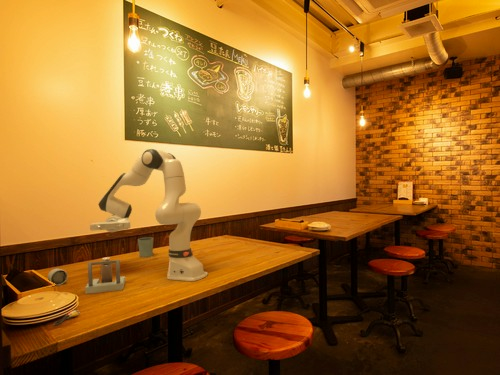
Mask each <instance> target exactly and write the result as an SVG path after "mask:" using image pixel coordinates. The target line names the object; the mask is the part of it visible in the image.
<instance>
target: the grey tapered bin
mask: <svg viewBox="0 0 500 375" xmlns="http://www.w3.org/2000/svg"><path fill="white" fill-rule="evenodd" d="M137 244H138V245H137V247H138V253H139V257H140V258H142V257H146V258H151V257H153V255H154V252H153V251H154V238H153V237H141V238H138V239H137Z"/></svg>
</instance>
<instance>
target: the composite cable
mask: <svg viewBox="0 0 500 375" xmlns="http://www.w3.org/2000/svg"><path fill="white" fill-rule="evenodd" d="M79 314H81V311H80V310H79V309H77V310H71V311H70V312H67V313H66V314H65V315H64V316H63V318H61V319H58V320H57V321H55V322H54V323H53V326H54V327H56V326H57V327H58V326H59V325H62V324H63V322H65V321H68V320H71V319H73V318H75V317H76V316H78V315H79Z"/></svg>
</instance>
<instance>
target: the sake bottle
mask: <svg viewBox="0 0 500 375" xmlns="http://www.w3.org/2000/svg"><path fill="white" fill-rule="evenodd" d="M110 259H111V257H110V256H107V257H106V256H105V257H102V261H103V260H106V261H110ZM100 278H101V279H100V280H101V283H109V282H114V281H113V264H101V265H100Z"/></svg>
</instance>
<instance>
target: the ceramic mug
mask: <svg viewBox="0 0 500 375" xmlns="http://www.w3.org/2000/svg"><path fill="white" fill-rule="evenodd" d="M68 276H69V275H68V272H67V271H66V270H64V269H62V268H54V269H51V270H50V271H49V272H48V274H47V279H48V280H49V281H51V282H53V283H55V284H56V285H55V286H61V285H63V284H65V283H66V281H68Z"/></svg>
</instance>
